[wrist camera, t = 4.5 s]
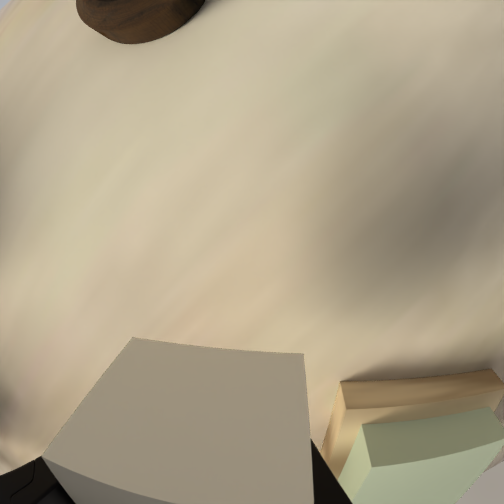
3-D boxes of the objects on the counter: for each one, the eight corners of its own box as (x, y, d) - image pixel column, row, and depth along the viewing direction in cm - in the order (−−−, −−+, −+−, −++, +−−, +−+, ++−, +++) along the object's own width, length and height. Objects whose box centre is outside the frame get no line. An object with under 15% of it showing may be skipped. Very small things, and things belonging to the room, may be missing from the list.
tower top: (435, 486, 15) (444, 513, 13) (326, 501, 16) (328, 534, 13) (489, 406, 13) (509, 436, 10) (361, 424, 14) (371, 467, 11)
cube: (286, 458, 10) (281, 575, 5) (156, 442, 10) (112, 544, 5) (303, 353, 8) (313, 516, 3) (133, 337, 9) (41, 456, 4)
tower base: (432, 463, 18) (442, 487, 16) (310, 476, 19) (311, 506, 16) (486, 363, 15) (507, 387, 13) (338, 374, 16) (346, 409, 13)
